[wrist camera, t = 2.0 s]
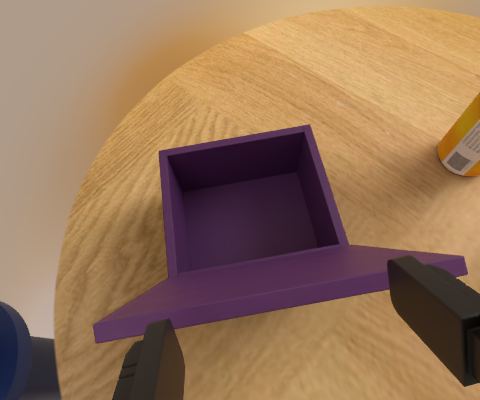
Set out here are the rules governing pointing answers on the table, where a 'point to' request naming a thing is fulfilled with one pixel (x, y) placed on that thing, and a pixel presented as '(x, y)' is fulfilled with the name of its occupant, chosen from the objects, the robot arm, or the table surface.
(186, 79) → the table surface
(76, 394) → the table surface
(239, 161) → the box
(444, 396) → the table surface
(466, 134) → the beer can
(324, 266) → the lid
